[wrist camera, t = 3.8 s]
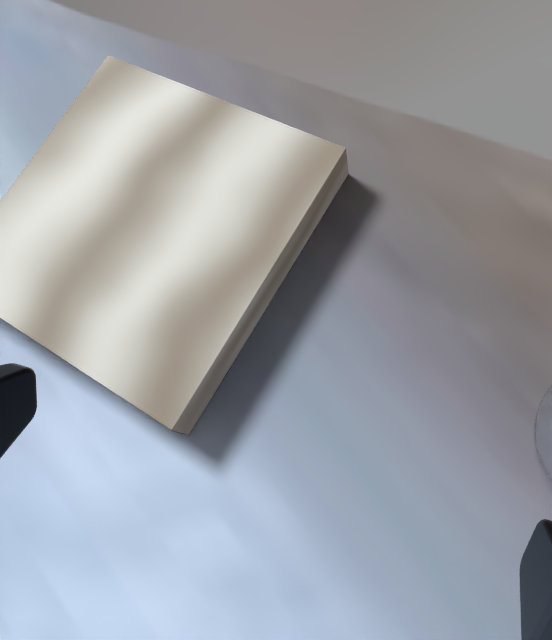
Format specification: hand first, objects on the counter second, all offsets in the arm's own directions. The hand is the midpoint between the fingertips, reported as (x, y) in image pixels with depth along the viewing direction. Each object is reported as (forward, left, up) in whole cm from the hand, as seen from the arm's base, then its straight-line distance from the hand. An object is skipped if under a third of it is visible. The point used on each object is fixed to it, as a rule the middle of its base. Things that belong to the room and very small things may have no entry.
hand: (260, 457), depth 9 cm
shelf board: (+12, +7, -13) cm, 19 cm away
